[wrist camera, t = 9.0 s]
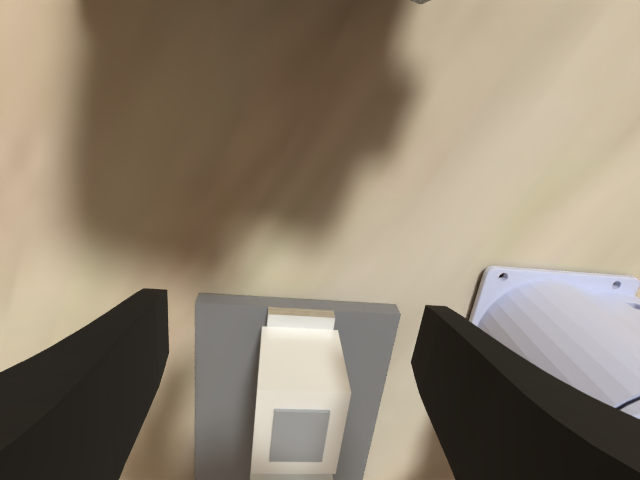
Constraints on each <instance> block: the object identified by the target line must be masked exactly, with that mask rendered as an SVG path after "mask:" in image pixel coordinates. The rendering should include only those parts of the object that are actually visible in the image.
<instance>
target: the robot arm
mask: <svg viewBox="0 0 640 480" xmlns="http://www.w3.org/2000/svg"><path fill="white" fill-rule="evenodd" d="M502 273H504V275H503V277H501V278H499V276H500V275H501V274H502ZM614 282H615V283H614ZM613 283H614V284H613ZM639 285H640V282H639V280H638V279H637V278H635V277H633V276H626V275H613V274H599V273H586V272H572V271H559V270H545V269H531V268H518V267H504V266H490V267H488V268H487V269H486V270H485V271H484V273H483V276H482V279H481V283H480V286H479V289H478V292H477V296H476V299H475V302H474V305H473V309H472V312H471V315H470V318H469V321H468V320H467V319H466V318H464V317H463V316H461V315H460V314H458V313H456V312H455V311H453V310H452V309H450V308H448V307H446V306H432V305H426V306H425V309H424V313H423V317H422V321H421V325H420V329H419V333H418V337H417V341H416V345H415V349H414V352H413V356H412V360H411V364H412V368H413V372H414V376H415V380H416V383H417V387H418V390H419V394H420V396H421V399H422V401H423V404H424V406H425V409H426V411H427V413H428V416H429V418H430V420H431V423H432V425H433V427H434V430H435V432H436V434H437V437H438V439H439V441H440V444H441V446H442V448H443V451H444V453H445V455H446V458H447V460H448V462H449V465H450V467H451V469H452V472H453V475H454V477H455V480H640V299H639V298H638V297H636V296H635V294H636V292H637V290H638V288H639ZM168 354H169V336H168V300H167V290H162V289H145V288H143V289H142V290H140V291H138V292H137V293H135V294H134V295H132V296H130V297H129V298H128V299H126V300H125V301H123V302H122V303H120V304H119V305H117V306H116V307H114V308H113V309H111V310H110V311H108V312H107V313H105V314H104V315H102V316H100V317H99V318H97V319H96V320H94V321H93V322H91V323H90V324H88V325H87V326H85V327H83V328H82V329H80V330H78V331H77V332H75V333H73V334H71V335H70V336H68V337H66V338H65V339H63V340H61V341H60V342H58V343H56V344H55V345H53V346H51V347H49V348H48V349H46V350H44V351H42V352H40V353H38V354H36V355H35V356H33V357H31V358H29V359H27V360H25V361H23V362H21V363H19V364H17V365H15V366H13V367H10V368H8V369H6V370H4V371H2V372H0V480H119V478H120V475H121V473H122V470H123V468H124V465H125V463H126V461H127V459H128V456H129V454H130V452H131V449H132V447H133V445H134V443H135V440H136V438H137V436H138V434H139V431H140V429H141V427H142V425H143V422H144V420H145V418H146V416H147V413H148V411H149V409H150V406H151V404H152V402H153V399H154V397H155V395H156V392H157V390H158V388H159V385H160V382H161V378H162V375H163V372H164V368H165V365H166V361H167V358H168Z"/></svg>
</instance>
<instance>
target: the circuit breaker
mask: <svg viewBox="0 0 640 480" xmlns="http://www.w3.org/2000/svg"><path fill="white" fill-rule="evenodd" d="M411 1H414V2H416V3H418V4H423V3H426V2H428V1H430V0H411Z"/></svg>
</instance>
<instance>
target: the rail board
mask: <svg viewBox="0 0 640 480" xmlns="http://www.w3.org/2000/svg"><path fill="white" fill-rule="evenodd" d="M400 315H401V314H400V312H399V310H398V308H397V306H396V305H395V304H378V303H361V302H344V301H327V300H310V299H293V298H276V297H259V296H242V295H225V294H208V293H199V294H198V297H197V300H196V302H195V480H250V471H251V474H332V475H333V480H362V479H363V475H364V471H365V466H366V462H367V458H368V453H369V449H370V445H371V441H372V436H373V432H374V428H375V423H376V419H377V415H378V410H379V406H380V402H381V397H382V393H383V389H384V384H385V380H386V376H387V371H388V367H389V363H390V358H391V354H392V350H393V345H394V341H395V337H396V332H397V328H398V324H399V319H400ZM254 420H255V423H254ZM253 433H254V436H253ZM252 446H253V449H252ZM251 458H252V461H251Z"/></svg>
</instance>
